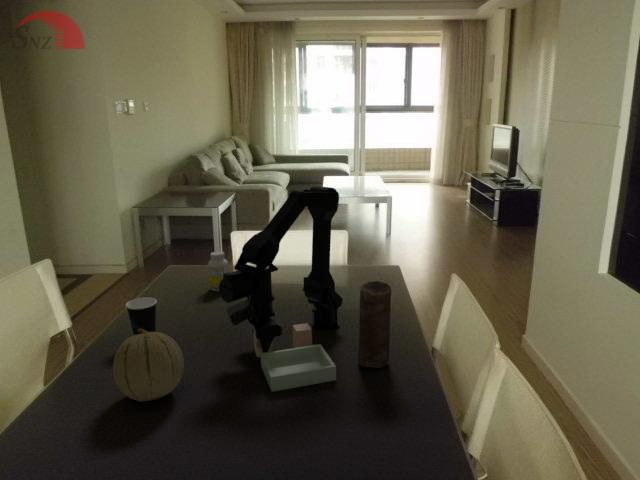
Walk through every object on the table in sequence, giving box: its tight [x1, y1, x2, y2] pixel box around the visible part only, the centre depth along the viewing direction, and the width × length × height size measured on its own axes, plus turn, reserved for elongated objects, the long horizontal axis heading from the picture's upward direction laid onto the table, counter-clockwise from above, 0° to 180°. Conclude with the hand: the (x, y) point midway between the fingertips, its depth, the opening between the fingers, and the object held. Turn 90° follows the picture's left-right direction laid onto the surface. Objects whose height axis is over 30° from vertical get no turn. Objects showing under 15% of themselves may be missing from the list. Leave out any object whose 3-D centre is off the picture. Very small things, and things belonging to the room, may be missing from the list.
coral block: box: [292, 322, 313, 348], centre depth 133 cm, size 4×4×6 cm
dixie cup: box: [125, 296, 158, 336], centre depth 139 cm, size 8×8×11 cm
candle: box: [357, 280, 392, 370], centre depth 122 cm, size 8×7×20 cm
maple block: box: [252, 328, 274, 358], centre depth 131 cm, size 4×4×6 cm
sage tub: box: [260, 343, 337, 393], centre depth 121 cm, size 15×12×4 cm
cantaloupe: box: [112, 329, 185, 403], centre depth 111 cm, size 15×15×15 cm
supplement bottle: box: [208, 251, 230, 292], centre depth 178 cm, size 7×7×13 cm
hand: (263, 349), depth 131 cm, fingers closed on maple block, 4 cm apart
